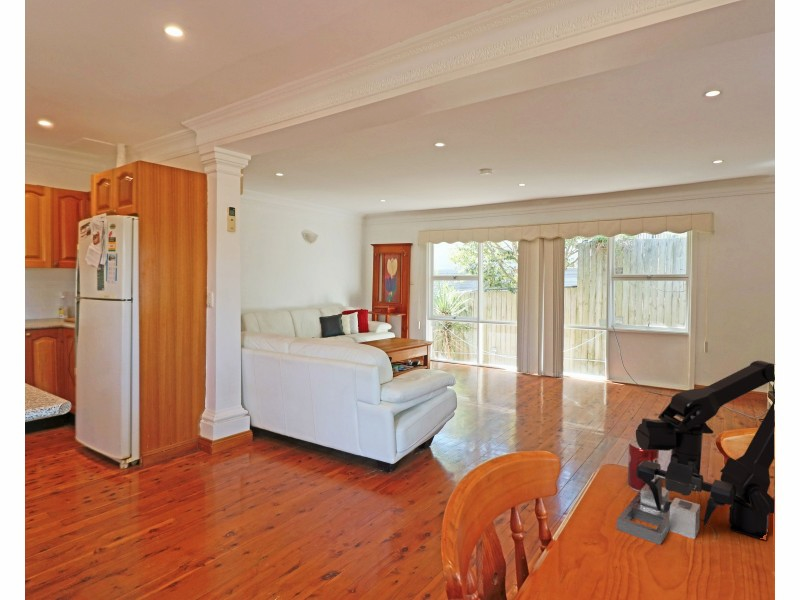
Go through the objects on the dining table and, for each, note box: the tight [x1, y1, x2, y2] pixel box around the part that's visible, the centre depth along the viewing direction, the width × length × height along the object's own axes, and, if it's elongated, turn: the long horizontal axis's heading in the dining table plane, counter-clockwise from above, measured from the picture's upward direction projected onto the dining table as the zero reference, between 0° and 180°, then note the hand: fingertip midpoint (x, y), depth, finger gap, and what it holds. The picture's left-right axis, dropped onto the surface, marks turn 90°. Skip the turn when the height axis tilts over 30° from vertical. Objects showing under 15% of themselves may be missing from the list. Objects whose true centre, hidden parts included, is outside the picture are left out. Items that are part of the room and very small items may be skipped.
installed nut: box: [640, 484, 670, 513], centre depth 112 cm, size 5×5×6 cm
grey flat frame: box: [616, 491, 674, 546], centre depth 109 cm, size 9×18×2 cm, turn 138°
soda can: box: [627, 439, 660, 493], centre depth 126 cm, size 7×7×12 cm
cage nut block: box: [669, 497, 701, 540], centre depth 105 cm, size 5×5×6 cm
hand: (681, 517), depth 105 cm, fingers open, 9 cm apart
